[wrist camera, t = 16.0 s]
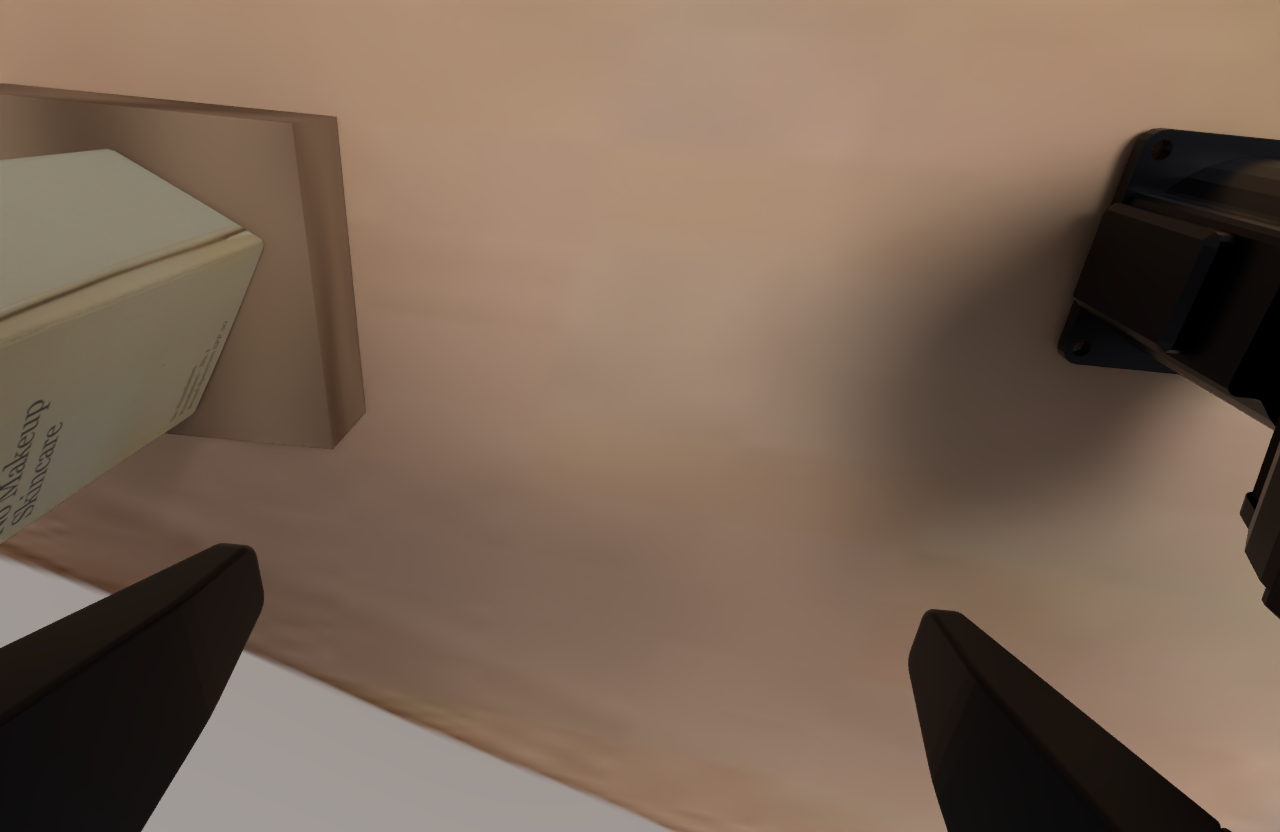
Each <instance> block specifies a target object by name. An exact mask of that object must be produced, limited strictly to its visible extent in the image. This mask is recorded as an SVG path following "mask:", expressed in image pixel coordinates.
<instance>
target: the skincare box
mask: <svg viewBox="0 0 1280 832" xmlns="http://www.w3.org/2000/svg"><path fill="white" fill-rule="evenodd" d="M263 246H264V243H263V241H262V239H261V238H259V237H258V236H256V235H254V234H253V233H251V232H249V231H247V230H246V229H244V228H243V227H241V226H240V225H238V224H236V223H235V222H233V221H231V220H230V219H228V218H227V217H225V216H223V215H222V214H220V213H218V212H217V211H215V210H213V209H212V208H210V207H208V206H207V205H205V204H203V203H202V202H200V201H198V200H197V199H195V198H193V197H192V196H190V195H188V194H187V193H185V192H183V191H182V190H180V189H178V188H177V187H175V186H173V185H172V184H170V183H168V182H167V181H165V180H163V179H162V178H160V177H158V176H157V175H155V174H153V173H151V172H150V171H148V170H146V169H145V168H143V167H141V166H140V165H138V164H136V163H134V162H133V161H131V160H129V159H128V158H126V157H124V156H123V155H121V154H119V153H118V152H116V151H113V150H110V149H101V150H91V151H82V152H73V153H64V154H54V155H44V156H35V157H25V158H16V159H6V160H0V544H2V543H3V542H5V541H6V540H7V539H9V538H10V537H12V536H13V535H15V534H16V533H18V532H19V531H21V530H22V529H24V528H25V527H26V526H28V525H29V524H31V523H32V522H34V521H35V520H37V519H38V518H40V517H41V516H43V515H44V514H46V513H47V512H49V511H50V510H52V509H53V508H54V507H56V506H57V505H59V504H60V503H62V502H63V501H65V500H66V499H68V498H69V497H71V496H72V495H74V494H75V493H77V492H78V491H80V490H81V489H83V488H84V487H86V486H87V485H89V484H90V483H91V482H93V481H94V480H96V479H97V478H99V477H100V476H102V475H103V474H105V473H106V472H108V471H109V470H111V469H112V468H114V467H115V466H117V465H118V464H120V463H121V462H123V461H124V460H126V459H127V458H128V457H130V456H131V455H133V454H134V453H136V452H137V451H139V450H140V449H142V448H143V447H145V446H146V445H147V444H149V443H151V442H152V441H154V440H155V439H157V438H158V437H160V436H161V435H162V434H164V433H165V432H167V431H168V430H170V429H171V428H173V427H174V426H176V425H177V424H179V423H180V422H182V421H183V420H185V419H186V418H188V417H189V416H191V415H192V414H193V413H194V412H195V410H196V408H197V406H198V403H199V401H200V399H201V397H202V394H203V392H204V390H205V388H206V385H207V383H208V381H209V379H210V376H211V374H212V372H213V369H214V367H215V365H216V362H217V360H218V358H219V356H220V353H221V351H222V349H223V346H224V344H225V341H226V339H227V336H228V334H229V331H230V329H231V327H232V324H233V322H234V320H235V317H236V315H237V313H238V310H239V308H240V305H241V303H242V300H243V298H244V295H245V293H246V290H247V288H248V285H249V283H250V280H251V278H252V275H253V273H254V270H255V268H256V265H257V263H258V260H259V258H260V255H261V253H262V250H263Z"/></svg>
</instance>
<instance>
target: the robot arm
mask: <svg viewBox="0 0 1280 832" xmlns="http://www.w3.org/2000/svg"><path fill="white" fill-rule="evenodd" d="M1160 140H1161V141H1162V143H1163V147H1162V150H1161V152H1160V153H1159V155H1157V156H1156V157H1154V158H1153V157H1152V155H1151V153H1152V148H1153V147H1154V145H1155V144H1156V143H1157V142H1159V141H1160ZM1073 296H1074V298H1075V300H1074V303H1073V305H1072V308H1071V310H1070V313H1069V316H1068V318H1067V321H1066V323H1065V326H1064V329H1063V331H1062V334H1061V336H1060V339H1059V342H1058V347H1057V349H1058V352H1059V354H1060V355H1061V356H1062V357H1063V358H1065V359H1066V360H1067V361H1069V362H1070V363H1074V364H1079V365H1090V366H1100V367H1110V368H1120V369H1131V370H1141V371H1151V372H1161V373H1171V374H1180V375H1182V376H1184V377H1185V378H1187V379H1189V380H1190V381H1192V382H1194V383H1195V384H1197V385H1199V386H1200V387H1202V388H1204V389H1205V390H1207V391H1209V392H1210V393H1212V394H1214V395H1215V396H1217V397H1219V398H1220V399H1222V400H1224V401H1225V402H1227V403H1229V404H1230V405H1232V406H1234V407H1235V408H1237V409H1239V410H1240V411H1242V412H1244V413H1245V414H1247V415H1249V416H1250V417H1252V418H1254V419H1255V420H1257V421H1259V422H1260V423H1262V424H1264V425H1265V426H1267V427H1269V428H1270V429H1272V430H1274V433H1273V435H1272V438H1271V441H1270V444H1269V447H1268V450H1267V452H1266V455H1265V458H1264V461H1263V464H1262V467H1261V470H1260V472H1259V475H1258V478H1257V481H1256V484H1255V487H1254V489H1253V492H1248V493H1247V494H1246V496H1245V499H1244V501H1243V504H1242V507H1241V510H1240V516H1241V517H1242V519H1243V521H1244V523H1245V524H1246V526H1247V528H1248V529H1249V530H1248V535H1247V541H1246V546H1245V553H1246V555H1247V557H1248V559H1249V561H1250V563H1251V564H1252V566H1253V568H1254V570H1255V572H1256V574H1257V576H1258V578H1259V580H1260V581H1261V583H1262V584H1263V585H1264V586H1265V587H1266V588H1265V591H1264V594H1263V596H1262V601H1263V603H1264V605H1265V606H1266V607H1267V608H1268V609H1269V610H1270V611H1271V612H1272V613H1273V614H1275V615H1276V616H1277V617H1278V618H1279V619H1280V140H1274V139H1264V138H1254V137H1245V136H1235V135H1225V134H1215V133H1205V132H1195V131H1185V130H1175V129H1165V128H1156V129H1151V130H1149V131H1147V132H1145V133H1144V134H1143V135H1142V136H1141V137H1140V138H1139V139H1138V140H1137V142H1136V143H1135V145H1134V147H1133V150H1132V152H1131V155H1130V157H1129V160H1128V163H1127V165H1126V168H1125V170H1124V173H1123V176H1122V178H1121V181H1120V183H1119V186H1118V188H1117V191H1116V194H1115V196H1114V199H1113V201H1112V204H1111V207H1109V208H1108V209H1107V210H1106V211H1105V213H1104V215H1103V218H1102V220H1101V223H1100V225H1099V228H1098V231H1097V233H1096V236H1095V238H1094V241H1093V244H1092V246H1091V249H1090V252H1089V254H1088V257H1087V259H1086V262H1085V265H1084V267H1083V270H1082V272H1081V275H1080V278H1079V280H1078V283H1077V285H1076V288H1075V291H1074V294H1073ZM1083 340H1084V344H1083V346H1082V347H1081V349H1079V350H1077V351H1073V347H1074V346H1075V344H1076V343H1078V342H1079V341H1083ZM263 603H264V590H263V585H262V580H261V575H260V570H259V565H258V560H257V556H256V552H255V551H254V549H253V548H252V547H250V546H247V545H238V544H227V543H221V544H217V545H214V546H212V547H210V548H208V549H206V550H204V551H202V552H200V553H198V554H195V555H193V556H191V557H189V558H187V559H185V560H183V561H181V562H179V563H177V564H175V565H173V566H171V567H168V568H166V569H164V570H162V571H160V572H158V573H156V574H154V575H152V576H150V577H148V578H146V579H143V580H141V581H139V582H137V583H135V584H133V585H131V586H129V587H127V588H125V589H123V590H121V591H118V592H116V593H114V594H112V595H110V596H108V597H106V598H104V599H102V600H100V601H98V602H96V603H93V604H91V605H89V606H87V607H85V608H83V609H81V610H79V611H77V612H75V613H73V614H71V615H68V616H66V617H64V618H62V619H60V620H58V621H56V622H54V623H52V624H50V625H48V626H46V627H43V628H41V629H39V630H37V631H35V632H33V633H31V634H29V635H27V636H25V637H23V638H20V639H19V640H17V641H14V642H12V643H10V644H8V645H6V646H4V647H2V648H0V832H141V831H142V829H143V828H144V826H145V824H146V823H147V821H148V819H149V818H150V816H151V814H152V813H153V811H154V810H155V808H156V806H157V805H158V803H159V801H160V800H161V798H162V796H163V795H164V793H165V791H166V790H167V788H168V787H169V785H170V783H171V782H172V780H173V778H174V777H175V775H176V773H177V772H178V770H179V768H180V767H181V765H182V764H183V762H184V760H185V759H186V757H187V755H188V754H189V752H190V750H191V749H192V747H193V745H194V743H195V742H196V741H197V739H198V737H199V735H200V734H201V732H202V730H203V729H204V727H205V725H206V724H207V722H208V720H209V718H210V717H211V715H212V712H213V711H214V709H215V707H216V705H217V703H218V701H219V699H220V697H221V695H222V693H223V691H224V689H225V686H226V684H227V682H228V680H229V678H230V676H231V674H232V672H233V670H234V668H235V665H236V663H237V661H238V659H239V657H240V655H241V653H242V651H243V649H244V647H245V644H246V642H247V640H248V638H249V636H250V634H251V632H252V630H253V628H254V626H255V623H256V621H257V619H258V617H259V615H260V613H261V610H262V607H263ZM908 667H909V674H910V679H911V684H912V689H913V694H914V698H915V703H916V708H917V713H918V718H919V723H920V727H921V732H922V737H923V742H924V747H925V751H926V756H927V761H928V766H929V770H930V774H931V778H932V782H933V786H934V789H935V793H936V796H937V799H938V803H939V806H940V809H941V812H942V815H943V818H944V821H945V824H946V827H947V831H948V832H1231V831H1230V830H1228V829H1227V828H1221V826H1220V823H1219V822H1218V821H1217V820H1216V819H1215V818H1213V817H1212V816H1211V815H1210V814H1209V813H1207V812H1206V811H1205V810H1204V809H1202V808H1201V807H1200V806H1199V805H1197V804H1196V803H1195V802H1194V801H1192V800H1191V799H1190V798H1189V797H1188V796H1186V795H1185V794H1184V793H1183V792H1181V791H1180V790H1179V789H1178V788H1176V787H1175V786H1174V785H1173V784H1171V783H1170V782H1169V781H1168V780H1167V779H1165V778H1164V777H1163V776H1162V775H1160V774H1159V773H1158V772H1157V771H1155V770H1154V769H1153V768H1152V767H1150V766H1149V765H1148V764H1147V763H1146V762H1144V761H1143V760H1142V759H1141V758H1139V757H1138V756H1137V755H1136V754H1134V753H1133V752H1132V751H1131V750H1129V749H1128V748H1127V747H1126V746H1125V745H1123V744H1122V743H1121V742H1120V741H1118V740H1117V739H1116V738H1115V737H1113V736H1112V735H1111V734H1110V733H1108V732H1107V731H1106V730H1105V729H1104V728H1102V727H1101V726H1100V725H1099V724H1097V723H1096V722H1095V721H1094V720H1092V719H1091V718H1090V717H1089V716H1087V715H1086V714H1085V713H1084V712H1083V711H1081V710H1080V709H1079V708H1078V707H1076V706H1075V705H1074V704H1073V703H1071V702H1070V701H1069V700H1068V699H1066V698H1065V697H1064V696H1063V695H1062V694H1060V693H1059V692H1058V691H1057V690H1055V689H1054V688H1053V687H1052V686H1050V685H1049V684H1048V683H1047V682H1045V681H1044V680H1043V679H1042V678H1041V677H1039V676H1038V675H1037V674H1036V673H1034V672H1033V671H1032V670H1031V669H1029V668H1028V667H1027V666H1026V665H1024V664H1023V663H1022V662H1021V661H1020V660H1018V659H1017V658H1016V657H1015V656H1013V655H1012V654H1011V653H1010V652H1008V651H1007V650H1006V649H1005V648H1003V647H1002V646H1001V645H1000V644H999V643H997V642H996V641H995V640H994V639H992V638H991V637H990V636H989V635H987V634H986V633H985V632H984V631H982V630H981V629H980V628H979V627H978V626H976V625H975V624H974V623H973V622H971V621H970V620H969V619H968V618H966V617H965V616H964V615H962V614H961V613H959V612H956V611H948V610H938V609H930V610H928V611H926V612H925V614H924V615H923V617H922V619H921V622H920V625H919V628H918V631H917V633H916V636H915V639H914V642H913V645H912V647H911V650H910V653H909V659H908Z"/></svg>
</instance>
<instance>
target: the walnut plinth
mask: <svg viewBox="0 0 1280 832" xmlns="http://www.w3.org/2000/svg"><path fill="white" fill-rule="evenodd" d="M101 149H110V150H113V151H116V152H118V153H119V154H121V155H123V156H124V157H126V158H128V159H129V160H131V161H133V162H134V163H136V164H138V165H140V166H141V167H143V168H145V169H146V170H148V171H150V172H151V173H153V174H155V175H157V176H158V177H160V178H162V179H163V180H165V181H167V182H168V183H170V184H172V185H173V186H175V187H177V188H178V189H180V190H182V191H183V192H185V193H187V194H188V195H190V196H192V197H193V198H195V199H197V200H198V201H200V202H202V203H203V204H205V205H207V206H208V207H210V208H212V209H213V210H215V211H217V212H218V213H220V214H222V215H223V216H225V217H227V218H228V219H230V220H231V221H233V222H235V223H236V224H238V225H240V226H241V227H243V228H244V229H246V230H247V231H249V232H251V233H253V234H254V235H256V236H258V237H259V238H261V239H262V241H263V243H264V246H263V250H262V253H261V255H260V258H259V260H258V263H257V265H256V268H255V270H254V273H253V275H252V278H251V280H250V283H249V285H248V288H247V290H246V293H245V295H244V298H243V300H242V303H241V305H240V308H239V310H238V313H237V315H236V317H235V320H234V322H233V324H232V327H231V329H230V331H229V334H228V336H227V339H226V341H225V344H224V346H223V349H222V351H221V353H220V356H219V358H218V360H217V362H216V365H215V367H214V369H213V372H212V374H211V376H210V379H209V381H208V383H207V385H206V388H205V390H204V392H203V394H202V397H201V399H200V401H199V403H198V406H197V408H196V410H195V412H194V413H193V414H192V415H191V416H189V417H188V418H186V419H185V420H183V421H182V422H180V423H179V424H177V425H176V426H174V427H173V428H171V429H170V430H168V431H167V432H165V433H168V434H178V435H189V436H199V437H209V438H220V439H230V440H241V441H251V442H261V443H272V444H282V445H293V446H303V447H314V448H324V449H334V448H335V446H336V445H337V444H338V443H339V442H340V441H341V440H342V438H343V437H344V436H345V435H346V434H347V433H348V432H349V430H350V429H351V428H352V427H353V426H354V425H355V424H356V422H357V421H358V420H359V419H360V418H361V417H362V416H363V414H364V413H365V401H364V391H363V381H362V371H361V361H360V351H359V341H358V331H357V320H356V310H355V300H354V290H353V280H352V270H351V260H350V249H349V239H348V229H347V219H346V209H345V199H344V189H343V179H342V168H341V158H340V148H339V138H338V128H337V118H336V117H333V116H323V115H313V114H303V113H293V112H283V111H274V110H264V109H254V108H244V107H234V106H224V105H214V104H204V103H194V102H184V101H174V100H164V99H154V98H144V97H134V96H124V95H114V94H104V93H94V92H84V91H74V90H64V89H54V88H44V87H34V86H24V85H14V84H0V160H6V159H16V158H25V157H35V156H44V155H54V154H64V153H73V152H82V151H91V150H101Z"/></svg>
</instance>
